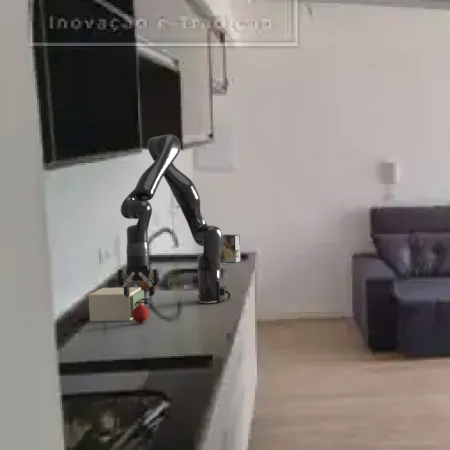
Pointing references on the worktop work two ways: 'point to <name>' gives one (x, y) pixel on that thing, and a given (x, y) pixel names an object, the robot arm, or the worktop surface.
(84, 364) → the worktop surface
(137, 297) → the green drawer
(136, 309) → the onion
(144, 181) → the robot arm
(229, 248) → the coffee box
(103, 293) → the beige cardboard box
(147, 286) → the tin
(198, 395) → the worktop surface
